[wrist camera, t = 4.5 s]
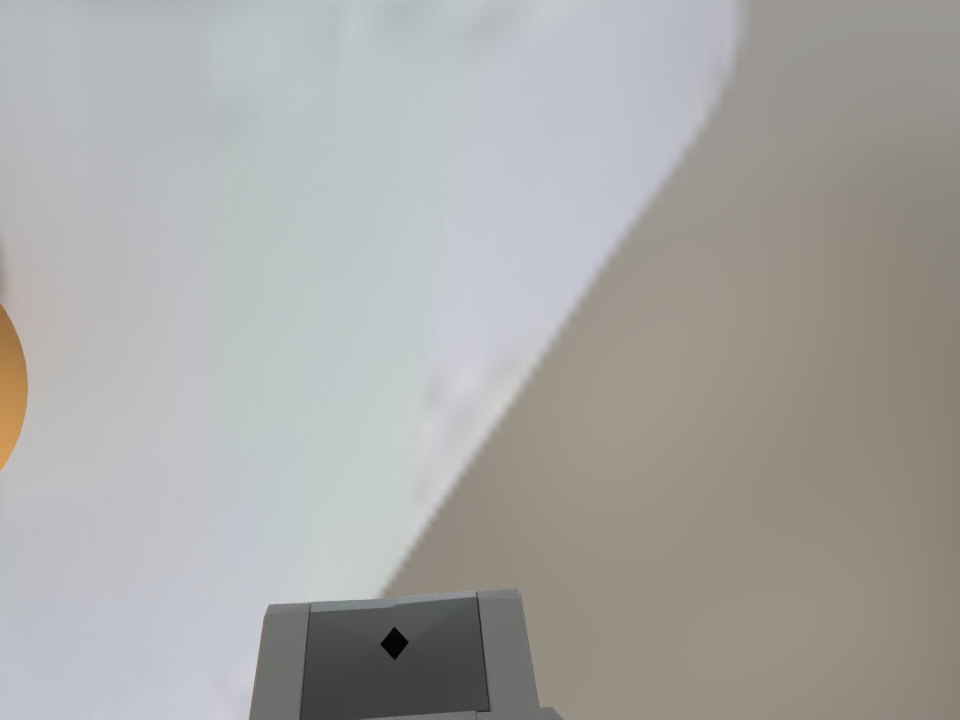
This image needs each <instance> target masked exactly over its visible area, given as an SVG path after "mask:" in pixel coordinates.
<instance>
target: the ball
mask: <svg viewBox="0 0 960 720" xmlns="http://www.w3.org/2000/svg"><path fill="white" fill-rule="evenodd" d="M27 394H28V383H27V370H26V362H25V358H24V354H23V350H22V347H21V344H20V341H19V338H18V335H17V333H16V331H15V328H14V326H13V324H12V322H11V320H10V318H9V317H8V315H7V313H6V311H5V310H4V308H3V307H2V305H1V304H0V471H1V470H2V468H3V467H4V465H5V464H6V462H7V461H8V459H9V457H10V455H11V453H12V451H13V449H14V447H15V444H16V442H17V440H18V437H19V435H20V432H21V428H22V424H23V421H24V416H25V411H26V406H27Z"/></svg>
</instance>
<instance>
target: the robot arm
mask: <svg viewBox="0 0 960 720" xmlns="http://www.w3.org/2000/svg"><path fill="white" fill-rule="evenodd" d="M249 720H564V719H563V718H562V717H561V716H560V715H559V714H558V713H557V712H556V711H555V710H554V708H553V707H541V708H540V707H539V701H538V695H537V689H536V683H535V677H534V671H533V665H532V659H531V654H530V647H529V641H528V636H527V629H526V623H525V617H524V612H523V605H522V599H521V595H520V593H519V591H518V590H517V589H516V588H515V589H502V590H486V591H477V592H476V593H475V591H463V592H451V593H438V594H426V595H414V596H401V597H395V599H371V600H348V601H324V602H308V603H290V604H271V605H269V606H268V609H267V611H266V614H265V616H264V621H263V627H262V634H261V641H260V648H259V655H258V662H257V668H256V675H255V682H254V689H253V696H252V702H251V709H250V716H249Z"/></svg>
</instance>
